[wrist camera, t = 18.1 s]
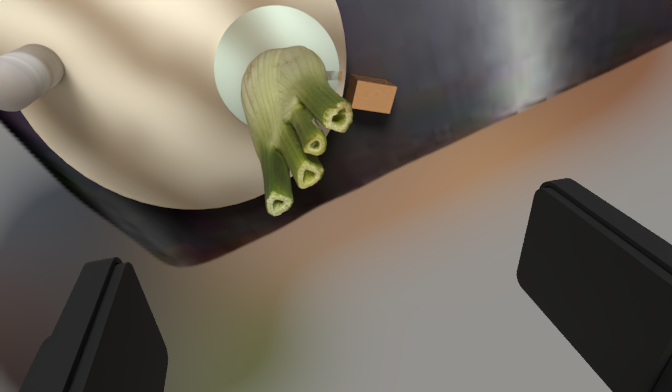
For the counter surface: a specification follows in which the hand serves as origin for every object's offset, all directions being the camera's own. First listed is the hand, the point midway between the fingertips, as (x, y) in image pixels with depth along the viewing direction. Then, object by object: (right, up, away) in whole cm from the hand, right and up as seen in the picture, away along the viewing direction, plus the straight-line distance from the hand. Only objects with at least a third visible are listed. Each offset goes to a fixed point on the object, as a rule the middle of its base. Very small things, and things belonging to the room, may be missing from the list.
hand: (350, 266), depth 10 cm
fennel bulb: (-4, +9, +17) cm, 20 cm away
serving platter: (-10, +11, +18) cm, 23 cm away
